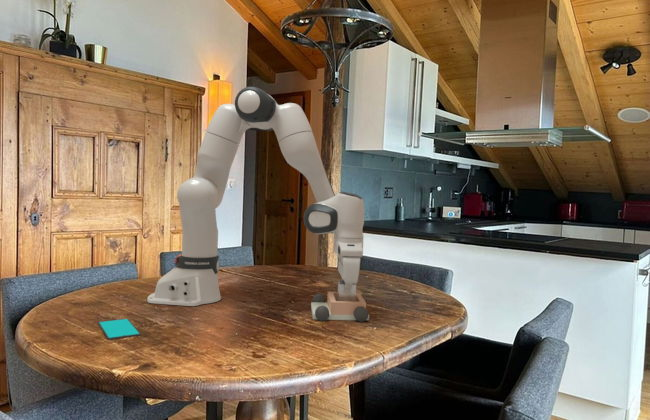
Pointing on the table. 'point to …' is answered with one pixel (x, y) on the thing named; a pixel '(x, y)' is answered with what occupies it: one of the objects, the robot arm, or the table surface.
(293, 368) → the table surface
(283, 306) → the table surface
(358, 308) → the chassis
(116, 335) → the smartphone
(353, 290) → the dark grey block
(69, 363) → the table surface
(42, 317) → the table surface
